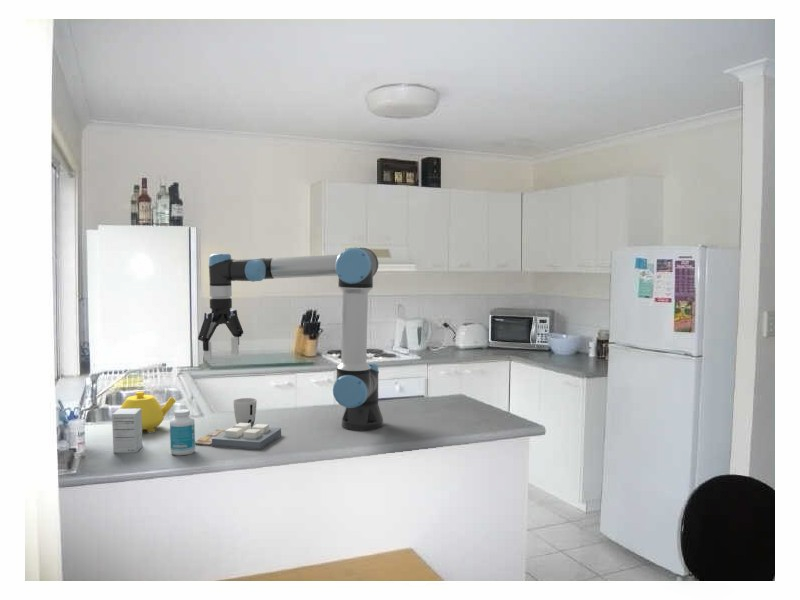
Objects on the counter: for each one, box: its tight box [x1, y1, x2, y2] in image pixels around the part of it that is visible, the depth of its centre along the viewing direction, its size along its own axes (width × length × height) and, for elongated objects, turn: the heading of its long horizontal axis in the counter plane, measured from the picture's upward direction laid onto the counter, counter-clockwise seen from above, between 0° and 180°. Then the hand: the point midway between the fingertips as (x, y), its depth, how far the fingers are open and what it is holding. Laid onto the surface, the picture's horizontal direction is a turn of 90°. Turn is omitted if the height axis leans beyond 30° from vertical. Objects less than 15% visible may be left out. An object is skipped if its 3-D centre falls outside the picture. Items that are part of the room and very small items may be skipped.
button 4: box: [252, 423, 270, 434], centre depth 235 cm, size 4×4×3 cm
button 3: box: [243, 429, 261, 439], centre depth 229 cm, size 4×4×3 cm
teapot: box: [119, 390, 177, 433], centre depth 247 cm, size 20×16×14 cm
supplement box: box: [111, 408, 143, 454], centre depth 223 cm, size 7×7×13 cm
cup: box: [233, 397, 257, 427], centre depth 249 cm, size 8×8×10 cm
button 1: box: [225, 427, 242, 438], centre depth 231 cm, size 4×4×3 cm
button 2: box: [233, 423, 251, 433], centre depth 237 cm, size 4×4×3 cm
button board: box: [211, 426, 282, 451], centre depth 233 cm, size 17×17×2 cm
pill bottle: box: [169, 408, 196, 456], centre depth 219 cm, size 8×7×14 cm
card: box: [195, 429, 227, 447], centre depth 236 cm, size 6×17×1 cm, turn 167°
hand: (221, 357), depth 246 cm, fingers open, 13 cm apart
